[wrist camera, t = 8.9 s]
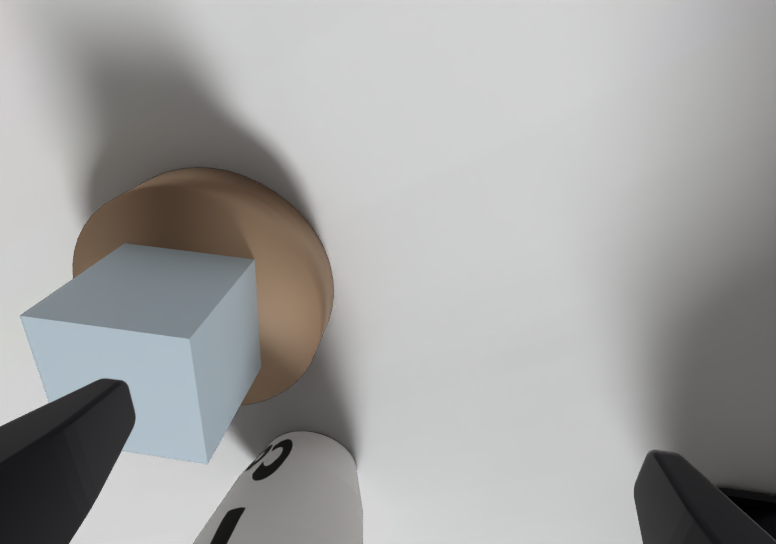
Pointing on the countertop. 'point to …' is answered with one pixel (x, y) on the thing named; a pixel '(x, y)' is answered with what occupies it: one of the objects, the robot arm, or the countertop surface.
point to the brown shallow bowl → (236, 239)
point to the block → (156, 342)
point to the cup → (292, 497)
